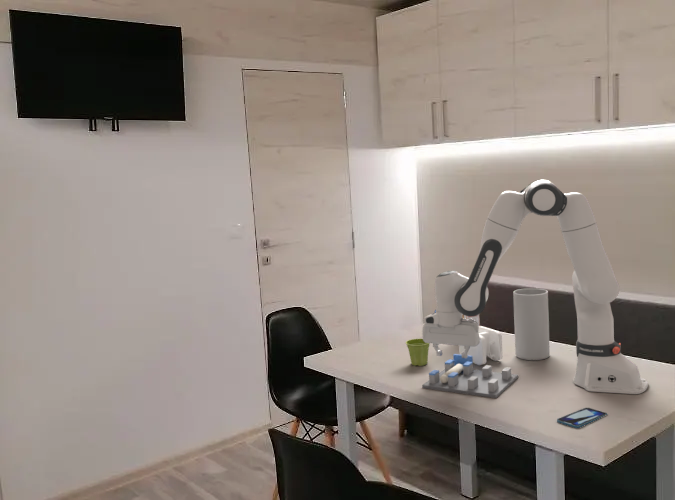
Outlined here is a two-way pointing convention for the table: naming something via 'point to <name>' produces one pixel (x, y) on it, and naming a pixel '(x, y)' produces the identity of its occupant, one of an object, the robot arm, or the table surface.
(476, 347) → the cable organizer
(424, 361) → the plant pot
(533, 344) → the cylinder vase
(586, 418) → the smartphone
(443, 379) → the white capsule
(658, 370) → the table surface
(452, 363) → the grey peg board
